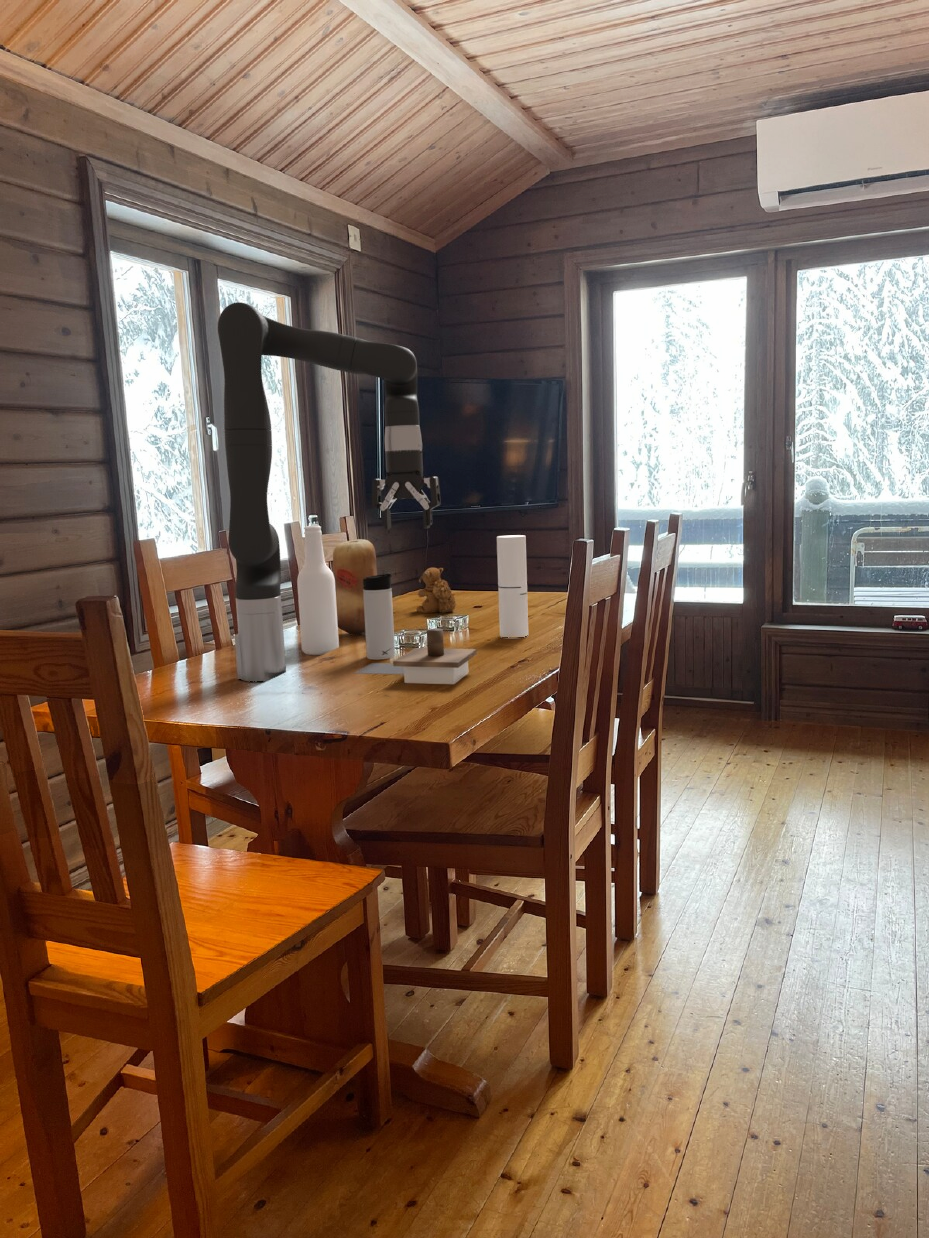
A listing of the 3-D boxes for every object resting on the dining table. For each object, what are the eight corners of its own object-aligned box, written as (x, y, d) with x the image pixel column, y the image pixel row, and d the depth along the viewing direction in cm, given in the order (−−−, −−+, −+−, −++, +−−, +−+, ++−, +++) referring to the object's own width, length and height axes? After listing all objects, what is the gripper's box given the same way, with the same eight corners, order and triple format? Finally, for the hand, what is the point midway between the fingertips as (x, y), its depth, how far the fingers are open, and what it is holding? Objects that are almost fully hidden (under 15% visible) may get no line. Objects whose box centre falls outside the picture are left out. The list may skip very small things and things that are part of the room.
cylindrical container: (496, 634, 235) (492, 536, 231) (522, 632, 237) (519, 534, 233) (505, 639, 228) (502, 538, 224) (532, 636, 230) (529, 536, 226)
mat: (354, 680, 190) (354, 673, 189) (372, 669, 199) (372, 662, 199) (414, 681, 186) (414, 674, 186) (430, 671, 195) (429, 664, 195)
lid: (393, 666, 177) (391, 635, 176) (415, 652, 190) (414, 624, 189) (458, 667, 174) (457, 636, 173) (476, 654, 186) (475, 624, 185)
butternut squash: (323, 639, 239) (317, 542, 235) (349, 630, 251) (343, 537, 247) (370, 640, 234) (365, 541, 230) (395, 631, 246) (390, 537, 242)
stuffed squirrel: (439, 607, 287) (437, 565, 285) (466, 611, 276) (464, 568, 274) (412, 611, 281) (410, 568, 279) (438, 616, 270) (436, 571, 268)
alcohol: (295, 652, 222) (286, 527, 217) (326, 646, 228) (318, 524, 223) (314, 656, 216) (306, 527, 211) (346, 651, 221) (338, 525, 217)
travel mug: (392, 666, 202) (387, 574, 199) (363, 665, 203) (358, 575, 200) (400, 660, 208) (395, 571, 205) (372, 660, 209) (367, 572, 206)
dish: (405, 690, 179) (403, 664, 178) (421, 678, 189) (420, 654, 188) (454, 691, 176) (453, 665, 176) (468, 679, 186) (467, 655, 185)
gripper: (364, 450, 187) (368, 530, 190) (431, 447, 183) (434, 529, 186) (377, 450, 195) (381, 528, 197) (442, 447, 191) (445, 526, 193)
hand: (407, 528), depth 192 cm, fingers open, 8 cm apart
